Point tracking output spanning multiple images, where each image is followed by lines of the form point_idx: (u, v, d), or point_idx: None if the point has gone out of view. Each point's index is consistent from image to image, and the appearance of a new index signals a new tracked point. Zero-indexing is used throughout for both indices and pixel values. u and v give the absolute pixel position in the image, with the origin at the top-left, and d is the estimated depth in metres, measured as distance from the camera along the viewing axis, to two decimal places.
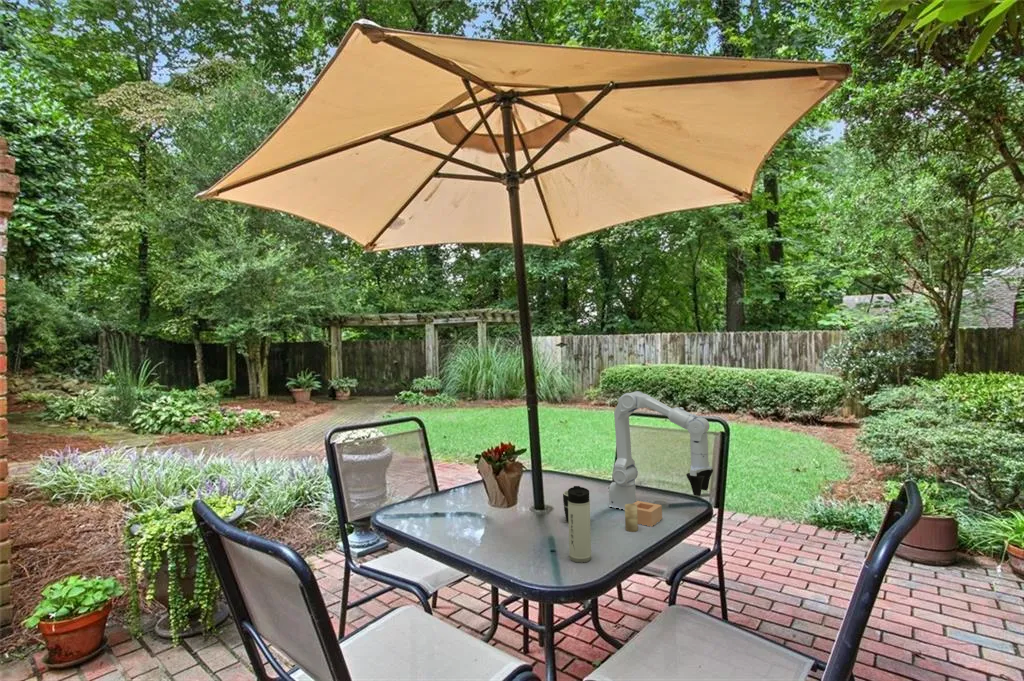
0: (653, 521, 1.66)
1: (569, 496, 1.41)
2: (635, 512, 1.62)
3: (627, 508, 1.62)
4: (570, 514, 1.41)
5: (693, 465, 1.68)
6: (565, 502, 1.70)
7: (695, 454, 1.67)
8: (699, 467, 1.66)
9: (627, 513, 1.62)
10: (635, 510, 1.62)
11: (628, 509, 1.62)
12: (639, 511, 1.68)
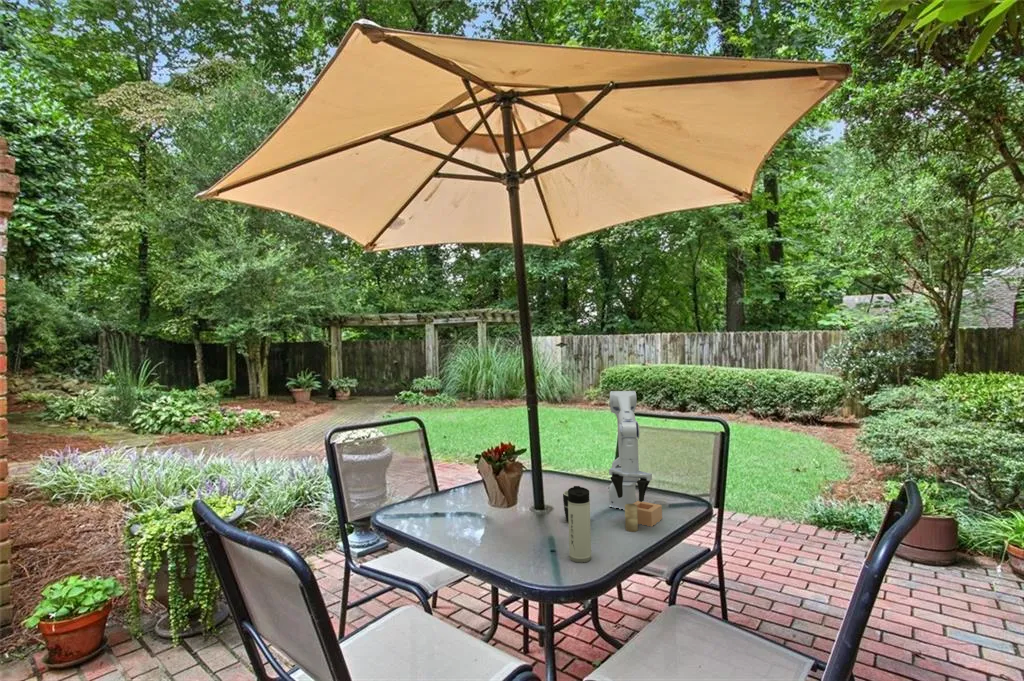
0: (653, 521, 1.66)
1: (569, 496, 1.41)
2: (635, 512, 1.62)
3: (627, 508, 1.62)
4: (570, 514, 1.41)
5: None
6: (565, 502, 1.70)
7: None
8: (621, 470, 1.65)
9: (627, 513, 1.62)
10: (635, 510, 1.62)
11: (628, 509, 1.62)
12: (639, 511, 1.68)
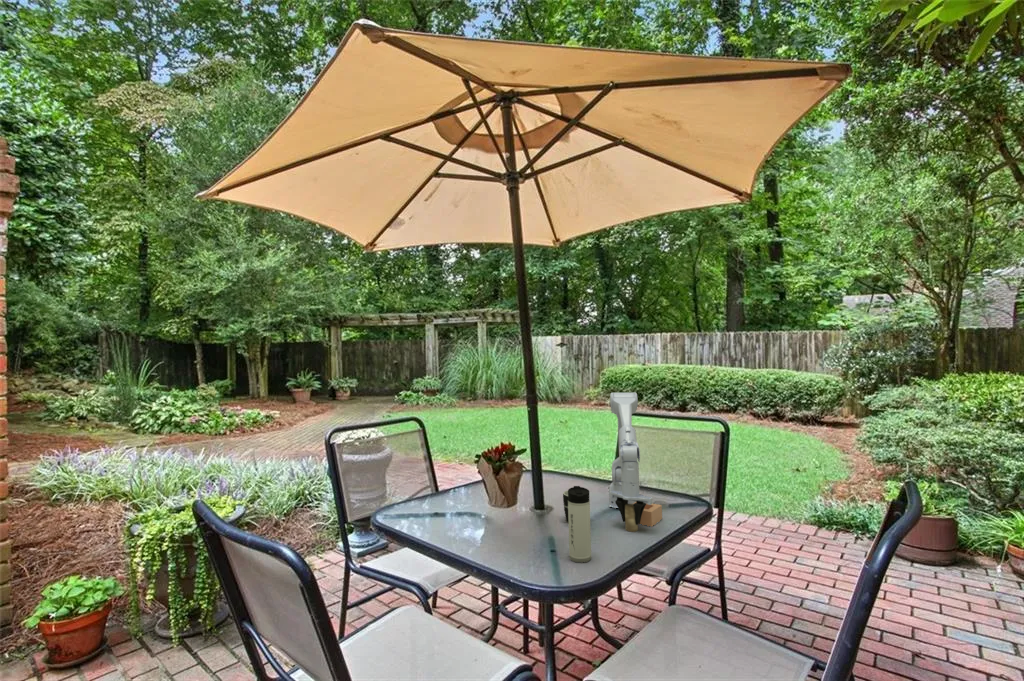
0: (653, 521, 1.66)
1: (569, 496, 1.41)
2: None
3: (627, 508, 1.62)
4: (570, 514, 1.41)
5: None
6: (565, 502, 1.70)
7: None
8: (621, 493, 1.65)
9: (627, 513, 1.62)
10: None
11: (628, 509, 1.62)
12: None
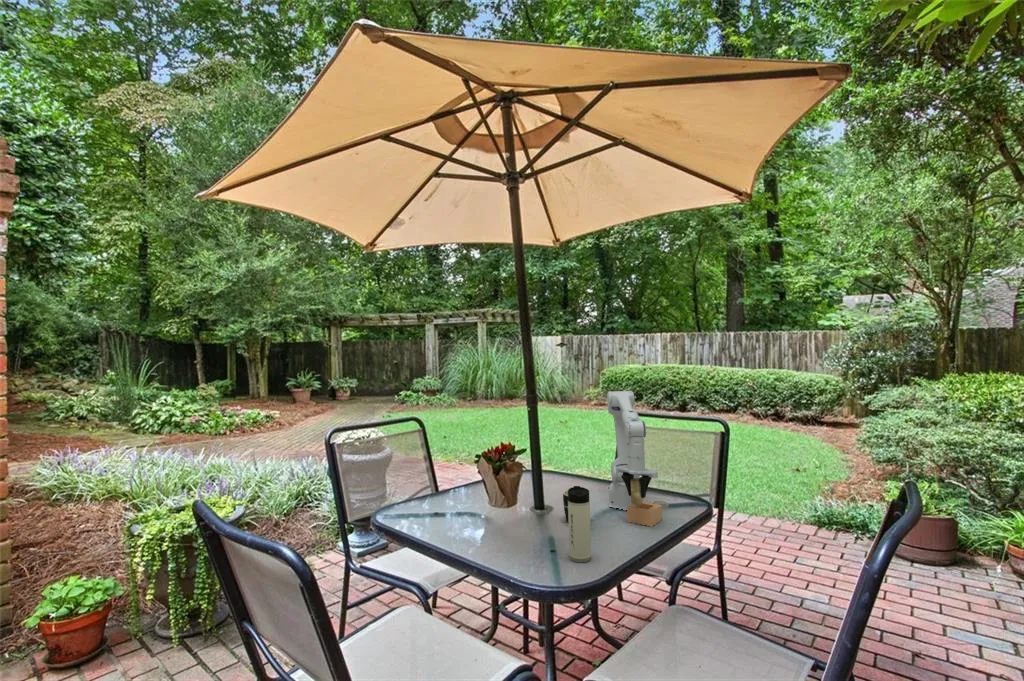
0: (653, 521, 1.66)
1: (569, 496, 1.41)
2: (640, 486, 1.66)
3: (633, 483, 1.66)
4: (570, 514, 1.41)
5: None
6: (565, 502, 1.70)
7: None
8: (627, 468, 1.69)
9: (633, 487, 1.66)
10: None
11: (634, 483, 1.66)
12: (639, 511, 1.68)
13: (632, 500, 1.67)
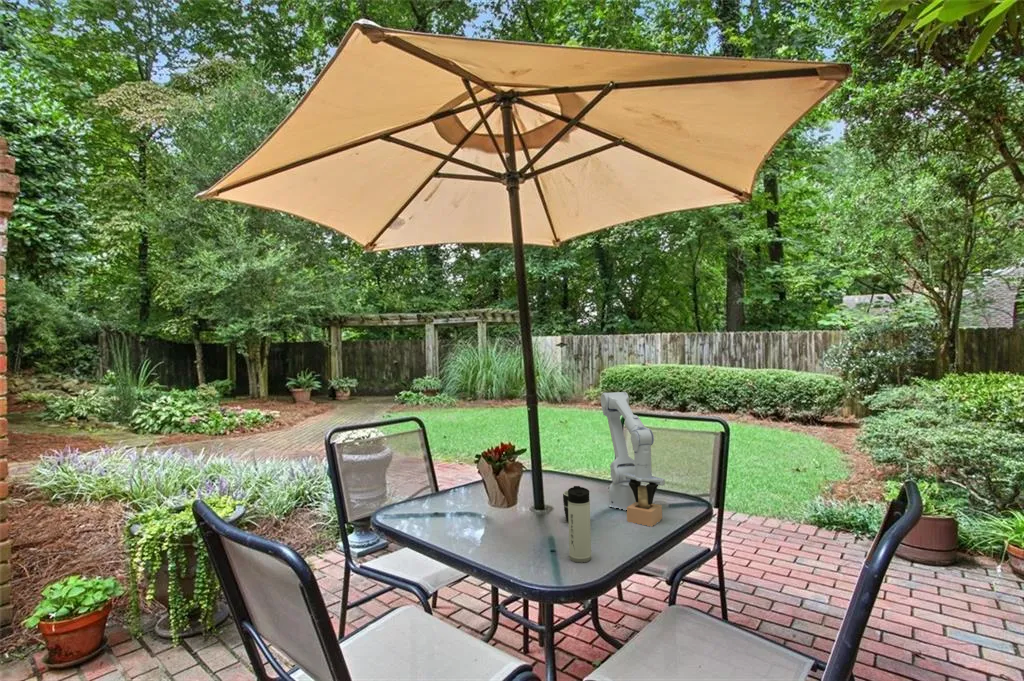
0: (653, 521, 1.66)
1: (569, 496, 1.41)
2: None
3: (640, 490, 1.70)
4: (570, 514, 1.41)
5: None
6: (565, 502, 1.70)
7: None
8: (634, 475, 1.73)
9: (640, 494, 1.70)
10: None
11: (641, 490, 1.70)
12: (639, 511, 1.68)
13: (639, 507, 1.71)
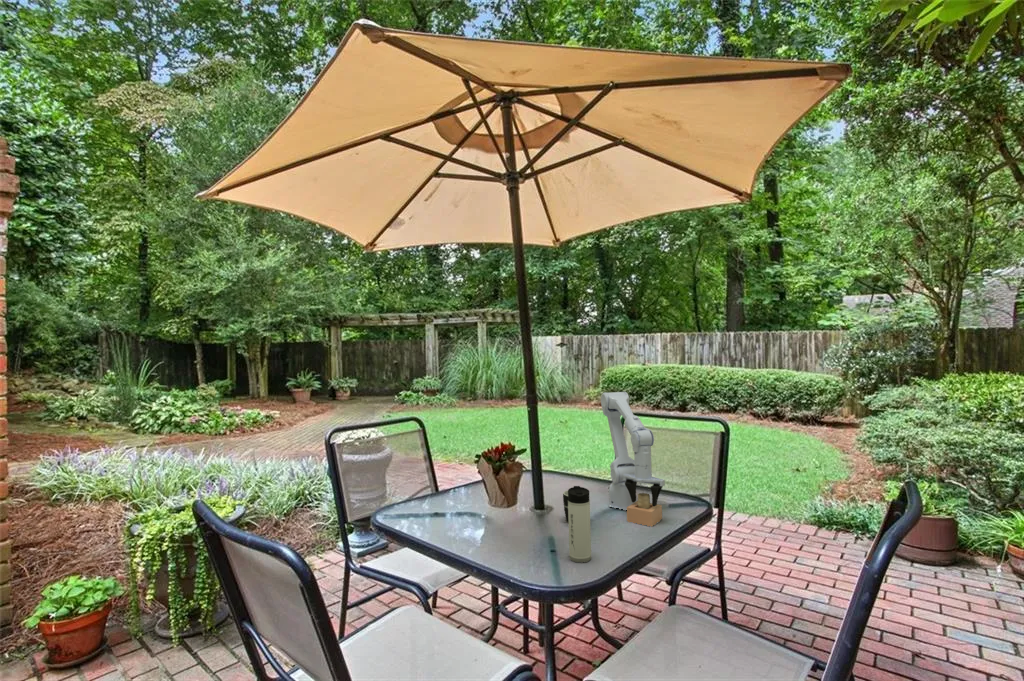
0: (653, 521, 1.66)
1: (569, 496, 1.41)
2: (648, 501, 1.70)
3: (640, 497, 1.70)
4: (570, 514, 1.41)
5: None
6: (565, 502, 1.70)
7: None
8: (634, 476, 1.73)
9: (640, 502, 1.70)
10: (647, 499, 1.70)
11: (641, 498, 1.70)
12: (639, 511, 1.68)
13: None
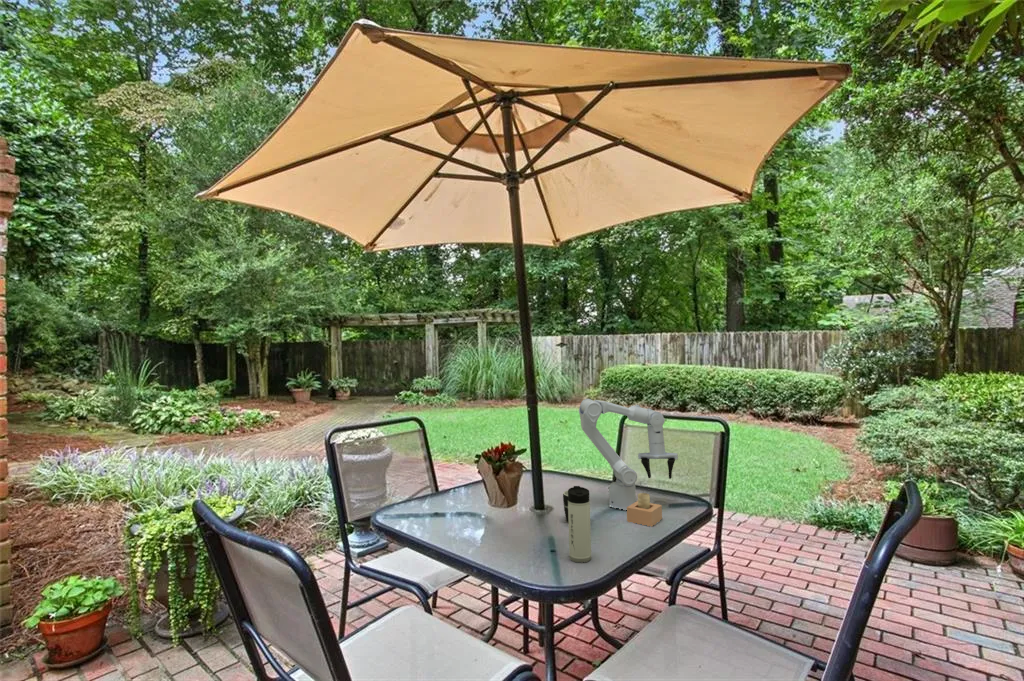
0: (653, 521, 1.66)
1: (569, 496, 1.41)
2: (648, 501, 1.70)
3: (640, 497, 1.70)
4: (570, 514, 1.41)
5: None
6: (565, 502, 1.70)
7: None
8: (649, 454, 1.88)
9: (640, 502, 1.70)
10: (647, 499, 1.70)
11: (641, 498, 1.70)
12: (639, 511, 1.68)
13: None
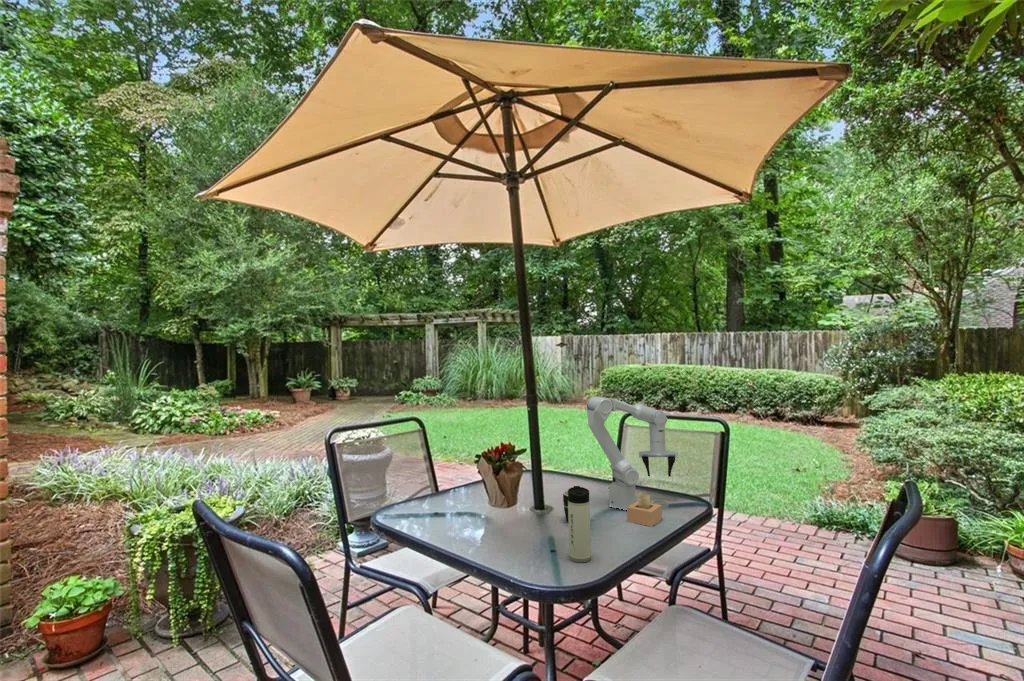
0: (653, 521, 1.66)
1: (569, 496, 1.41)
2: (648, 501, 1.70)
3: (640, 497, 1.70)
4: (570, 514, 1.41)
5: None
6: (565, 502, 1.70)
7: None
8: (650, 452, 1.91)
9: (640, 502, 1.70)
10: (648, 499, 1.70)
11: (641, 498, 1.70)
12: (639, 511, 1.68)
13: None
